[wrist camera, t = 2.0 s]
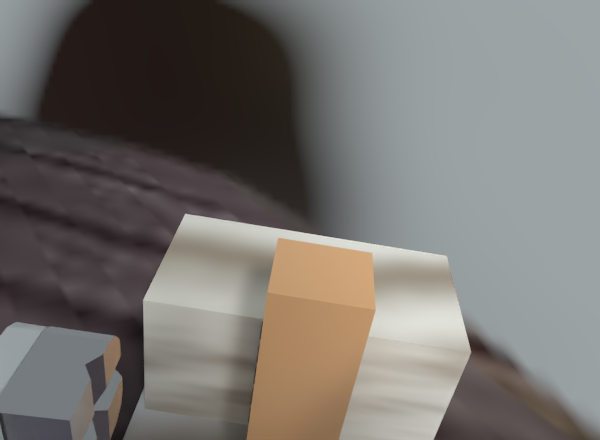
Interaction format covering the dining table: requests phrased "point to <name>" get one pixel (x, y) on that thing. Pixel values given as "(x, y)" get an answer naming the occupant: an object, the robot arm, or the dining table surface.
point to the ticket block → (248, 327)
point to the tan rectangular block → (311, 341)
